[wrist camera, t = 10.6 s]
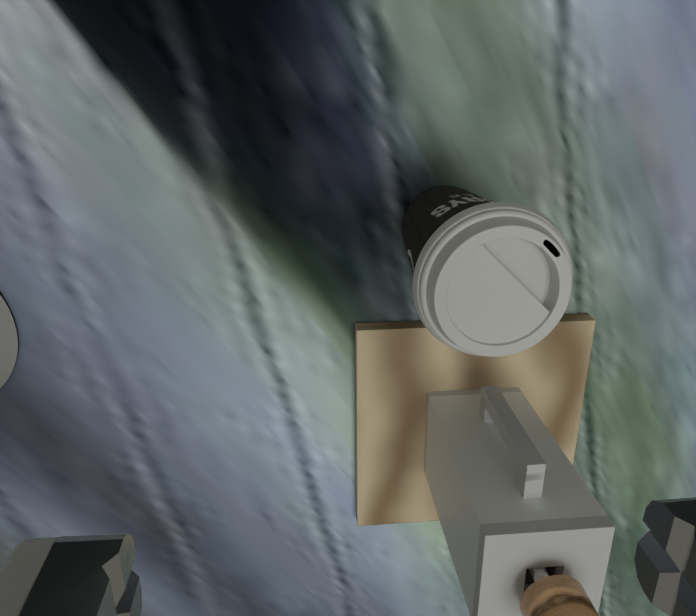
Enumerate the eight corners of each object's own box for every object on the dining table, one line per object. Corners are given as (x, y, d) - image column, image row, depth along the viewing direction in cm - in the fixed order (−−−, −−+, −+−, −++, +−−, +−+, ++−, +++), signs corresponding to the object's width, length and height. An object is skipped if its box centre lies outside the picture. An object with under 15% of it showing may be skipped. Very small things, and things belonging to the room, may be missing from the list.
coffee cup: (517, 254, 49) (604, 329, 35) (409, 301, 50) (453, 393, 36) (478, 144, 46) (559, 180, 32) (363, 197, 46) (393, 255, 33)
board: (355, 514, 58) (357, 526, 56) (354, 323, 50) (356, 330, 49) (558, 501, 59) (565, 511, 58) (587, 313, 52) (595, 320, 50)
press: (423, 469, 55) (475, 633, 39) (428, 364, 51) (488, 500, 35) (509, 463, 55) (595, 623, 40) (521, 360, 51) (622, 491, 36)
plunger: (438, 464, 53) (517, 684, 35) (441, 407, 51) (527, 609, 32) (502, 460, 54) (615, 676, 35) (508, 404, 52) (632, 601, 33)
